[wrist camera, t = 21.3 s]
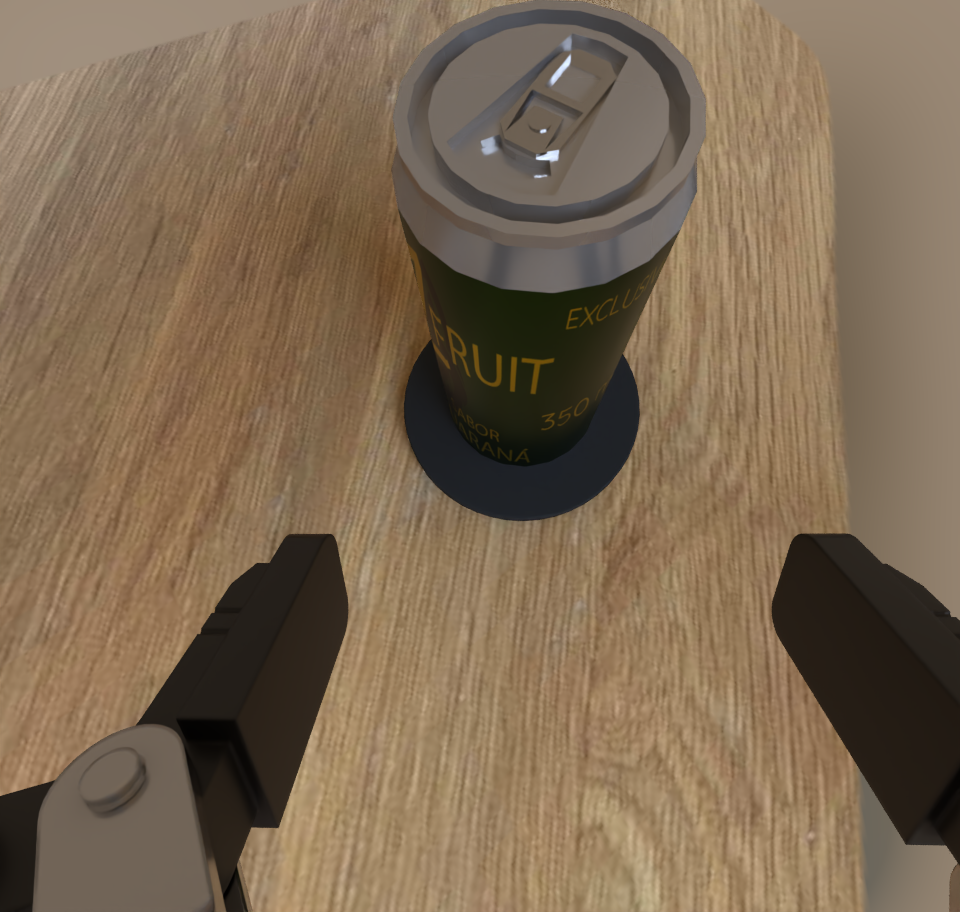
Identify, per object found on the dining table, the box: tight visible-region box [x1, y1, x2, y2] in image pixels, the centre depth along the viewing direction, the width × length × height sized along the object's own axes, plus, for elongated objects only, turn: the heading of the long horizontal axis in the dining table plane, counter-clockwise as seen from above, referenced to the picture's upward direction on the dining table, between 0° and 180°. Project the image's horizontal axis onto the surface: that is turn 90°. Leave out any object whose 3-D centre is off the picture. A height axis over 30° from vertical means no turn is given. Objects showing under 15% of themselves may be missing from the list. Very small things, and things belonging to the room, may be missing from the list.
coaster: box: [404, 339, 640, 521], centre depth 20 cm, size 9×9×1 cm
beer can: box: [391, 0, 706, 467], centre depth 14 cm, size 5×5×12 cm
